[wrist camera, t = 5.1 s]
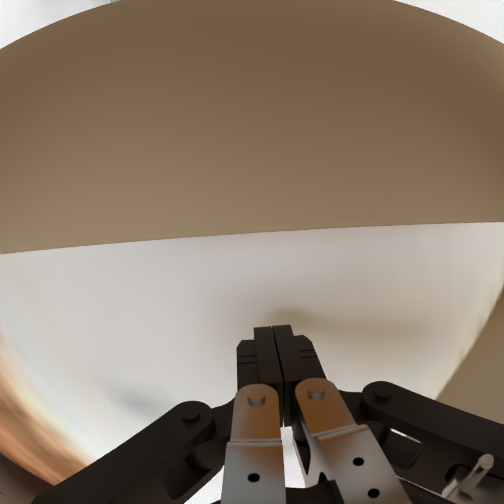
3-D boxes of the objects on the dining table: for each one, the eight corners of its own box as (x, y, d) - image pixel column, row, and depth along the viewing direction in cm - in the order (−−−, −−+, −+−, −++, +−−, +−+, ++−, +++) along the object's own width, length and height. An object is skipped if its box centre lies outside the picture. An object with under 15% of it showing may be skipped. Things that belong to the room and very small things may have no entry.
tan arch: (414, 177, 13) (589, 221, 4) (93, 195, 12) (-81, 264, 3) (412, 116, 12) (587, 103, 3) (88, 130, 11) (-93, 119, 2)
